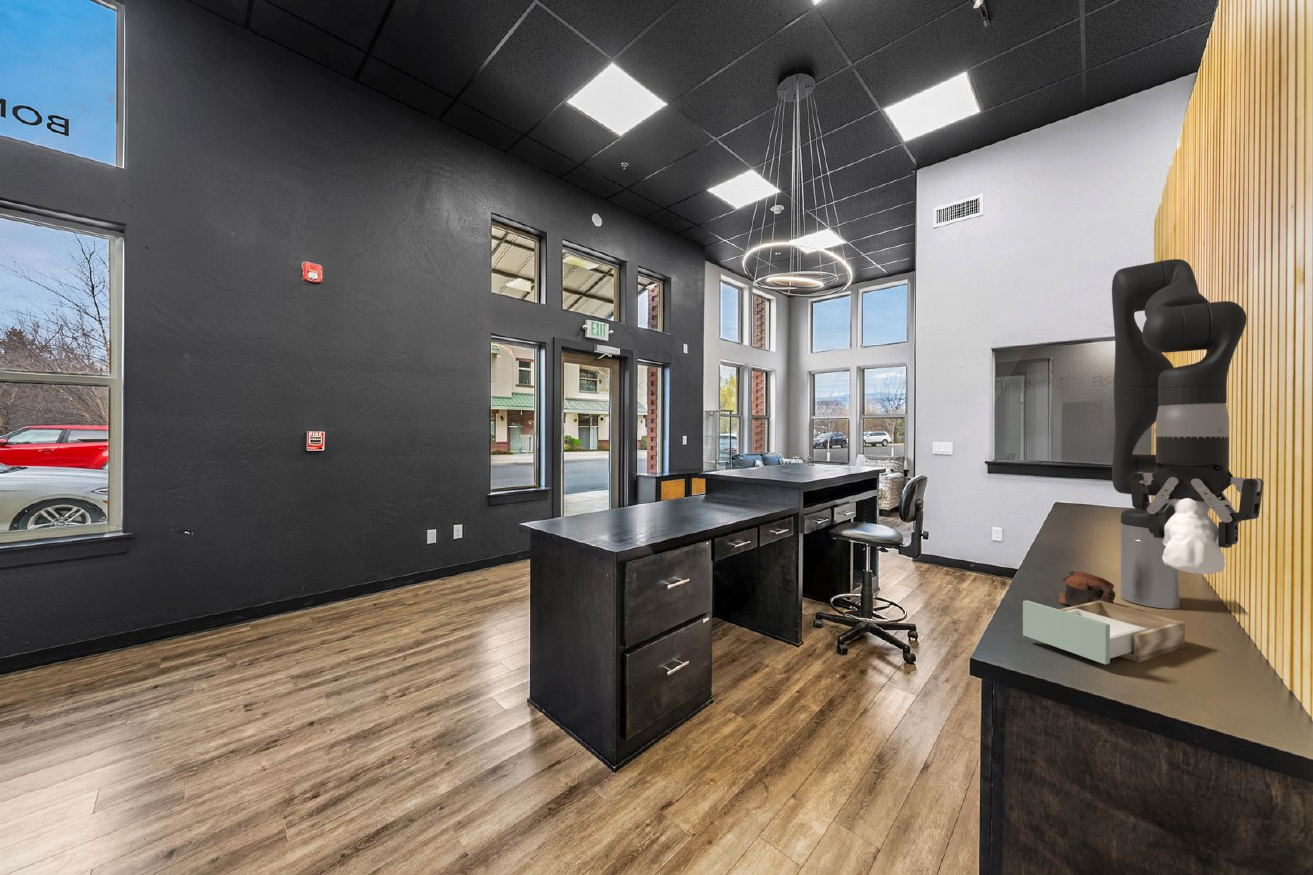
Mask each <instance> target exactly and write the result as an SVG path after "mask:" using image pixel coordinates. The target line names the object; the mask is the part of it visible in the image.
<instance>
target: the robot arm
mask: <svg viewBox="0 0 1313 875" xmlns="http://www.w3.org/2000/svg"><path fill="white" fill-rule="evenodd" d="M1111 299H1112V300H1111V301H1112V302H1111V303H1112V305H1111V306H1112V316H1113V328H1114V349H1115V350H1114V369H1113V370H1114V374H1113V404H1114V405H1113V406H1114V427H1115V428H1114V443H1113V453H1112V454H1113V455H1112V464H1111V465H1112V468H1111V479H1112V485H1113V488H1114V490H1115V491H1116V492H1118V493H1119V494H1124V495H1131V504H1132V507H1133V508H1131V509H1126V510H1123V511H1122V512H1121V514H1120V598H1121V599H1123V600H1125V601H1127V602H1130V603H1133V604H1137V605H1142V606H1144V607H1145V606H1146V607H1151V608H1159V609H1169V610H1175V609H1179V608H1180V605H1181V604H1180V602H1181V601H1180V600H1181V597H1180V596H1181V595H1180V593H1181V592H1180V591H1181V590H1180V588H1181V585H1180V584H1181V583H1180V581H1181V576H1180V575H1181V574H1180V573H1181V572H1180V571H1181V570H1177V569H1175V568H1173V567H1171V566H1169V565H1165V564H1164V561H1163V559H1162V556H1163V553H1164V549H1165V548H1166V546H1165V545H1164V544H1163V543H1162V540H1163V538H1164V533H1165V530H1164V527H1165V524H1166V523H1167V521H1168V520H1169V519H1170V518H1171V517H1172V515H1174V513H1175V509H1174V505H1172V504H1174V503H1172V504H1169V505H1168V503H1170V502H1173V501H1174V500H1175V499H1185V498H1190V499H1192V500H1194V501H1205V502H1206V503H1207V505H1208V506H1209V507H1210V508H1209V509H1211V508H1212V509H1211V510H1213V512H1214V513H1215V514H1216V515H1217V517H1218V518H1219V520H1220V521H1219V522H1217V523H1218V525H1217V527H1218V545H1219V547H1221V548H1223V549H1229V548H1232V546H1233V545H1236V544H1237V543H1238V542H1239V523H1240V522H1242V521H1250V520H1255V519H1258V518H1259V517H1260V512H1261V511H1260V509H1261V504H1262V503H1261V502H1262V496H1263V489H1264V481H1263V479H1262V478H1258V477H1253V478H1245V477H1239V476H1238V477H1237V476H1234V475H1233V474H1232V473H1231V471H1230V469H1229V468H1230V418H1229V411H1228V404H1227V403H1228V402H1227V401H1228V400H1227V399H1228V397H1227V396H1228V395H1227V394H1228V388H1227V387H1228V386H1227V385H1228V384H1227V383H1228V375H1229V371H1230V370H1229V369H1230V365H1231V362H1232V359H1233V357H1234V354H1235V351H1236V348H1237V347H1238V344H1239V342H1240V340H1241V339H1242V338H1241V337H1242V335H1243V333H1244V331H1245V328H1246V325H1247V320H1248V319H1247V314H1246V311H1245V309H1244V308H1243V307H1242V306H1241V305H1239V304H1238V303H1237V302H1234V301H1230V300H1226V301H1225V300H1223V301H1213V302H1210V301H1209V300H1208V299H1207V298H1206V297H1205V296H1203V295H1202V294H1201V293H1200V292H1199V286H1198V283H1197V280H1196V276H1195V273H1194V271H1193V268H1192V266H1191V265H1190V264H1189V263H1188V262H1187V261H1186V260H1184V259H1181V258H1173V259H1166V260H1160V261H1154V262H1150V263H1143V264H1139V265H1138V264H1137V265H1133V266H1128V267H1123V268H1120V269H1118V270H1117V271H1115V273H1114V275H1113V277H1112V284H1111ZM1136 312H1144V315H1145V318H1146V319H1145V322H1144V324H1143V327H1142V330H1141V329H1140V327H1139V326H1138V324H1137V321H1136V319H1135V313H1136ZM1202 350H1203V351H1205V350H1206V353H1205V355H1204V357H1203V358H1202V359H1201V360H1199V361H1197V362H1193V363H1192V364H1185V365H1181V366H1176V367H1174V365H1173V364H1172V362H1171V361H1170V360H1169V358H1167V356H1166V355H1164V354H1163V353H1166V354H1167V353H1179V352H1180V353H1181V352H1191V351H1192V352H1193V351H1202ZM1154 424H1155V427H1154V433H1155V454H1145V453H1144V454H1143V453H1142V454H1134V451H1135V448H1136V446H1137V444H1138V442H1139V441H1140V440H1141V438H1142V437H1143V435H1145V433H1146V432H1147V431H1148V430H1149V429H1150V427H1152V426H1153V425H1154ZM1231 485H1234V486H1235V489H1236V491H1237V492H1238V493H1240V499H1239V500H1240V501H1239V509H1238V512H1237V511H1236V510H1235V509H1234V507H1233V506H1232V502H1231V501H1230V500H1229V499H1228V497H1227V496H1226V494H1225V493H1224V491H1225V490H1227V489H1228V488H1229V487H1230V486H1231ZM1150 496H1152V497H1153V496H1154V497H1153V501H1152V502H1150ZM1170 505H1171V506H1170ZM1172 506H1173V507H1172Z"/></svg>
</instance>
